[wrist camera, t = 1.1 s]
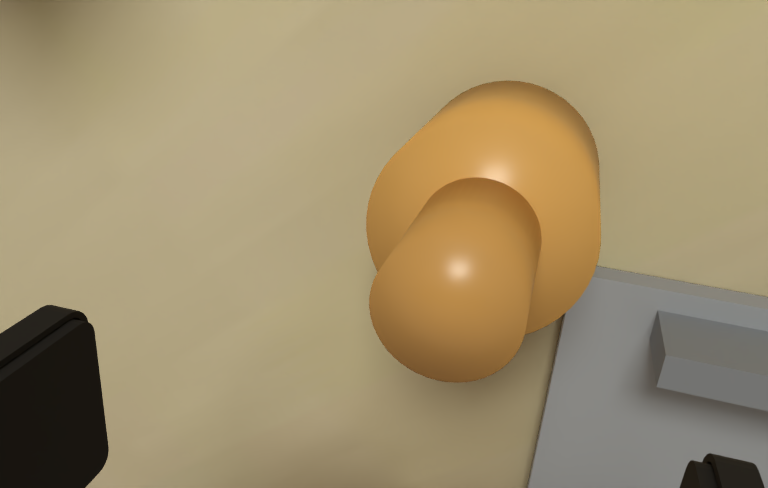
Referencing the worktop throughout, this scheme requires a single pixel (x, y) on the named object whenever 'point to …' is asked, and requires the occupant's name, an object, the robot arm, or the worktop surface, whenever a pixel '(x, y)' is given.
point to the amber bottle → (483, 230)
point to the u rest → (653, 384)
